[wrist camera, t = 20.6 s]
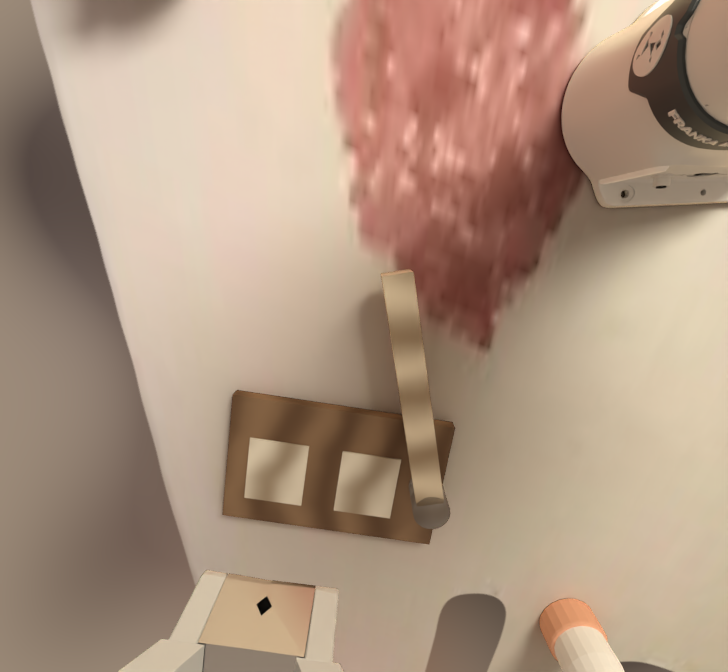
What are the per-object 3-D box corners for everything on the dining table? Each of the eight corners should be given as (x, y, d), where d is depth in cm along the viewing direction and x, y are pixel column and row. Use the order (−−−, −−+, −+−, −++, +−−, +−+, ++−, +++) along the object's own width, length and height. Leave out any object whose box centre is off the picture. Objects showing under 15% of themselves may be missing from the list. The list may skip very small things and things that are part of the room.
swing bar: (445, 503, 47) (452, 526, 44) (411, 507, 48) (415, 531, 44) (414, 268, 41) (418, 270, 37) (376, 274, 42) (376, 277, 38)
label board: (452, 422, 48) (456, 430, 46) (427, 535, 51) (429, 548, 49) (236, 390, 47) (230, 396, 45) (226, 507, 51) (220, 518, 49)
